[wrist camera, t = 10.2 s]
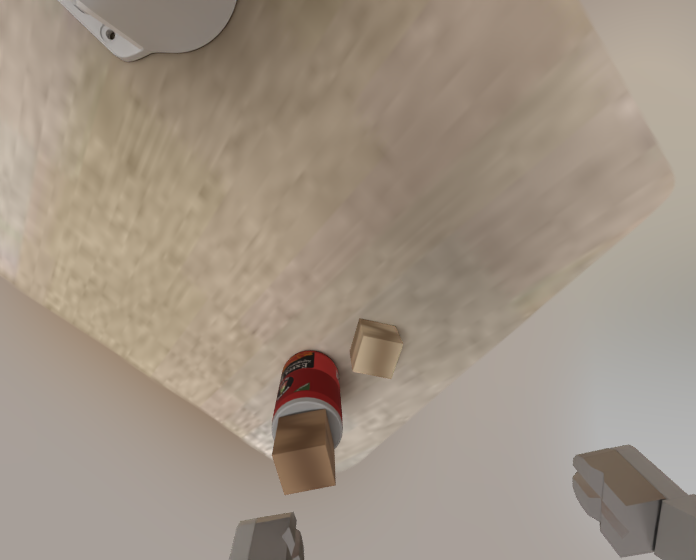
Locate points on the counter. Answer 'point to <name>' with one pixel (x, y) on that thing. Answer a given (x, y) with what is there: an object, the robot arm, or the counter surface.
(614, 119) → the counter surface
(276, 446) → the walnut block
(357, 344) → the oak block
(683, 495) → the robot arm
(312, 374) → the canned food
